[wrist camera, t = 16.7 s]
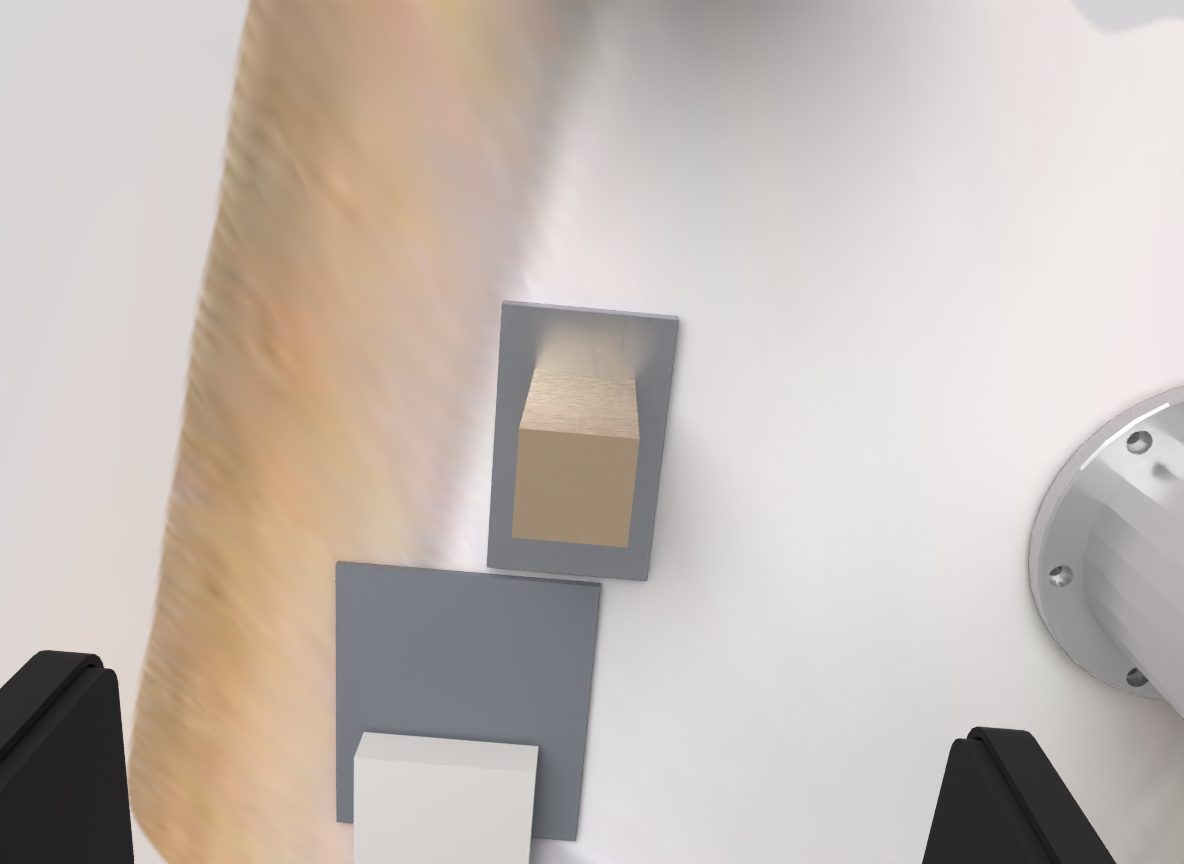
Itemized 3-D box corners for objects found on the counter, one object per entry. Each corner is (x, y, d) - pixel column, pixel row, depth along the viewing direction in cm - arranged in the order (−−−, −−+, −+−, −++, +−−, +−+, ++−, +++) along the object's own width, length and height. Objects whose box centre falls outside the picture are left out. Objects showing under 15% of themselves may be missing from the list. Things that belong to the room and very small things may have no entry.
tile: (354, 757, 38) (353, 918, 40) (535, 772, 38) (523, 932, 40) (364, 728, 39) (363, 885, 42) (539, 743, 39) (526, 898, 42)
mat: (600, 583, 37) (600, 587, 37) (575, 835, 41) (575, 841, 41) (337, 561, 37) (335, 564, 37) (338, 816, 41) (336, 821, 41)
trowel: (646, 571, 37) (653, 671, 31) (489, 557, 37) (463, 655, 31) (676, 314, 34) (692, 368, 28) (504, 298, 34) (479, 349, 28)
